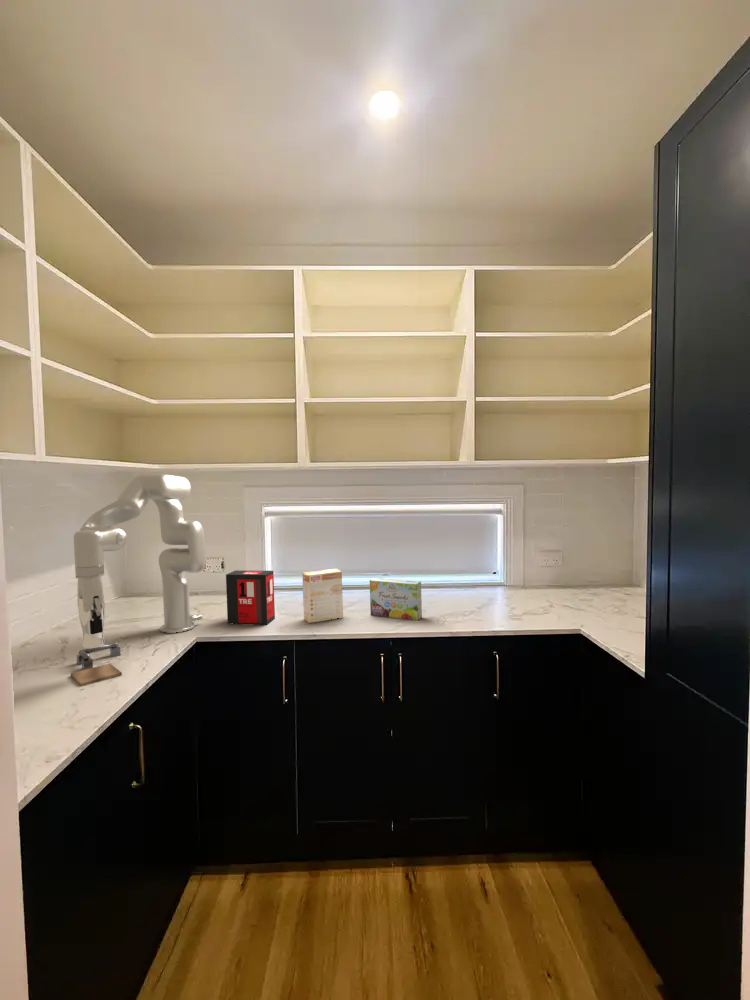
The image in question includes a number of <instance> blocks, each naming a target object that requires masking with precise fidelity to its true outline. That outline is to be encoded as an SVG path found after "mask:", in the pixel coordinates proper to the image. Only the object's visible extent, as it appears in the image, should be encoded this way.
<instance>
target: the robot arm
mask: <svg viewBox="0 0 750 1000" xmlns="http://www.w3.org/2000/svg"><path fill="white" fill-rule="evenodd" d="M191 491H192V485H191V483H190V481H189V479H188V478H186V477H184V476H180V475H173V474H166V473H153V474H152V473H149V474H148V473H146V474H144V473H143V474H138V475H136V476H133V478H132V479H131V480H130V482H129V483H128V484H127V486H126V487H125V488H124V490H123V491H122V493H120V495H119V497H118V498H117V499H116V500H114V501H113V502H111V503H109V504H107V505H106V506H104V507H102V508H101V509H99V510H97V511H96V512H95V513H93V514H91V515H90V516H89V517H88V518H87V519H86V520H85V522H84V523H83V524H82V526H81V528H80V529H79V531H76V532H75V533H74V534H73V551H74V554H73V555H74V569H75V571H74V572H75V573H74V574H75V579H76V580H77V607H79V597H80V598H81V599H83V611H85V612H88V611H89V610H90V617H91V621H90V634H96V633H101V632H103V633H104V626H103V627H102V614H101V612H102V609H103V607H104V603H105V598H104V599H103V595H104V589H103V587H104V586H103V579H102V577H103V576H105V563H104V562H105V560H104V552H116V551H119V550H121V549H122V548H124V547H125V545H126V544H127V540H128V536H127V533H126V531H125V530H123V529H122V528H121V527H120V528H119V527H116V525H118V524H122V523H125V522H130V521H131V520H134V519H136V518H137V517H139V516H140V515H141V513H142V512H143V510H144V509H145V507H146V506H147V504H148V503H149V501H150V500H152V502H154V504H155V505H156V507H157V509H158V513H159V525H160V526H159V527H160V537H161V539H162V542H163V543H164V544H165V545H169V546H188V547H168V548H166V549H164V550H162V551H161V552H160V554H159V556H158V566H159V570H160V574H161V580H162V581H161V582H162V597H163V598H162V599H163V601H162V602H163V604H162V605H163V625H161V626H160V627H159V630H160V631H159V632H161V631H162V632H161V633H164V632H166V634H175V633H176V632H178V633H183V631H184V632H187V630H188V631H190V630H193V629H194V628H195V627H196V625H195V621H201V620H203V614H197V615H196V614H194V615H193V614H191V605H190V603H191V602H190V583H189V579H188V578H187V576H186V574H187V573H188V574H197V573H201V572H202V571H203V570H204V569H205V568H206V565H207V564H206V563H207V556H206V555H207V553H206V539H205V537H206V535H205V529H204V526H203V525H202V523H201V522H200V521H198V520H193V519H189V520H187V519H184V517H185V516H184V511H183V510H184V508H183V505H182V503H181V502H180V500H185V499H186V498H188V497H189V496H190V494H191ZM93 603H94V606H95V609H94V610H92V606H93ZM101 605H102V607H101ZM93 612H96V613H94V615H93ZM176 634H177V633H176Z"/></svg>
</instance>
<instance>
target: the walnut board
mask: <svg viewBox="0 0 750 1000" xmlns="http://www.w3.org/2000/svg"><path fill="white" fill-rule="evenodd" d="M122 673H123V672H122V671H120V670H119V669H118V668H116V667H115V666H114V665H112V663H107V664H102V665H98V666H95V667H94V666H93V668H90V669H86V670H84V669H83V670H78V671H75V672H71V673H70V677H71V678H72V679H73V680H74V681H75V682H76V683H77V684H78V685H79V686H80V687H83V685H84V686H88V685H90V683H91V684H94V682H95V683H97V682H102V681H105V679H106V680H109V678H110V679H113V678H116V677H119V676H123V675H122ZM101 680H102V681H101Z"/></svg>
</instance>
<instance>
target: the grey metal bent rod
mask: <svg viewBox="0 0 750 1000" xmlns="http://www.w3.org/2000/svg"><path fill="white" fill-rule="evenodd" d="M118 644H119V643H117V642H111V643H107V644H106V643H105V644H104V645H103V646H101V647H97V648H92V649H85V648H83V649H80V650H79V651H78V654H76V664H77V665H78V666H81V667H82V669H83V670H86V669H90V668H94V665H93V664H94V662H93V661H94V660H93V658H92V657H90V656H91V655H90V654H93V653H97V652H101V651H105V650H108V649H109V652H110V656H111V657H112V656H114V657H118V656H117V655H119V656H121V646H120V645H118ZM81 664H82V665H81Z"/></svg>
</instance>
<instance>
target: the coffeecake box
mask: <svg viewBox="0 0 750 1000" xmlns="http://www.w3.org/2000/svg"><path fill="white" fill-rule="evenodd" d="M301 573H302V601H303V602H302V603H303V620H304V621H306V622H307V623H308V624H312V623H317V622H318V623H319V622H325V621H332V620H338V619H337V618H339V619H344V605H343V604H344V603H343V601H344V599H343V571H342V570H339V568H330V569H322V570H313V571H303V572H301ZM331 619H332V620H331Z"/></svg>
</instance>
